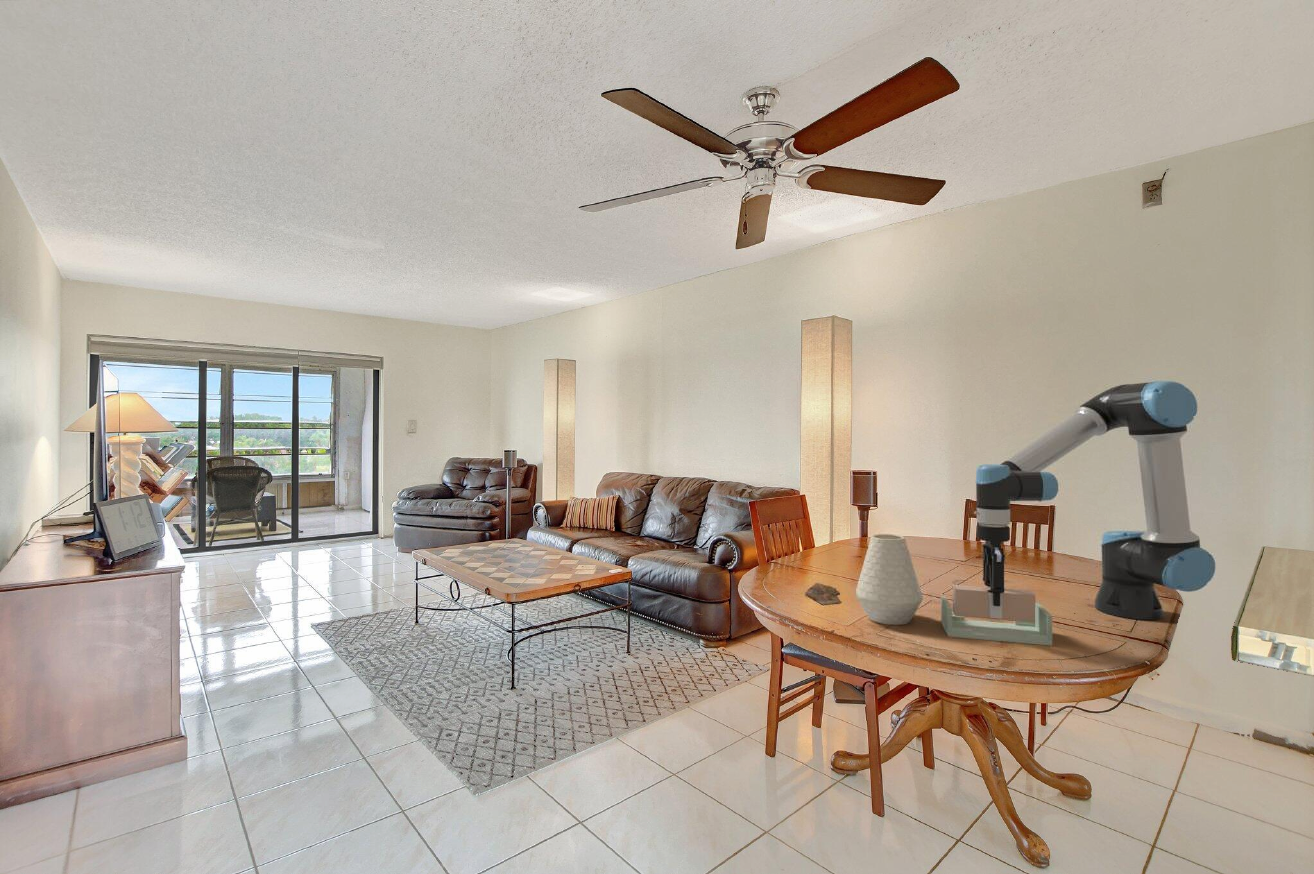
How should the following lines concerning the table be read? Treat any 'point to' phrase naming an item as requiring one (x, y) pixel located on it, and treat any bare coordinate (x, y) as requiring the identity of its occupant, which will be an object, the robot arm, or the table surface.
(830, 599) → the wooden fragment
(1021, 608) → the pinkish tan rectangular block
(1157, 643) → the table surface
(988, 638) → the tray
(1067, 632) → the table surface
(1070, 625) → the table surface
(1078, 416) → the robot arm
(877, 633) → the table surface
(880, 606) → the vase
